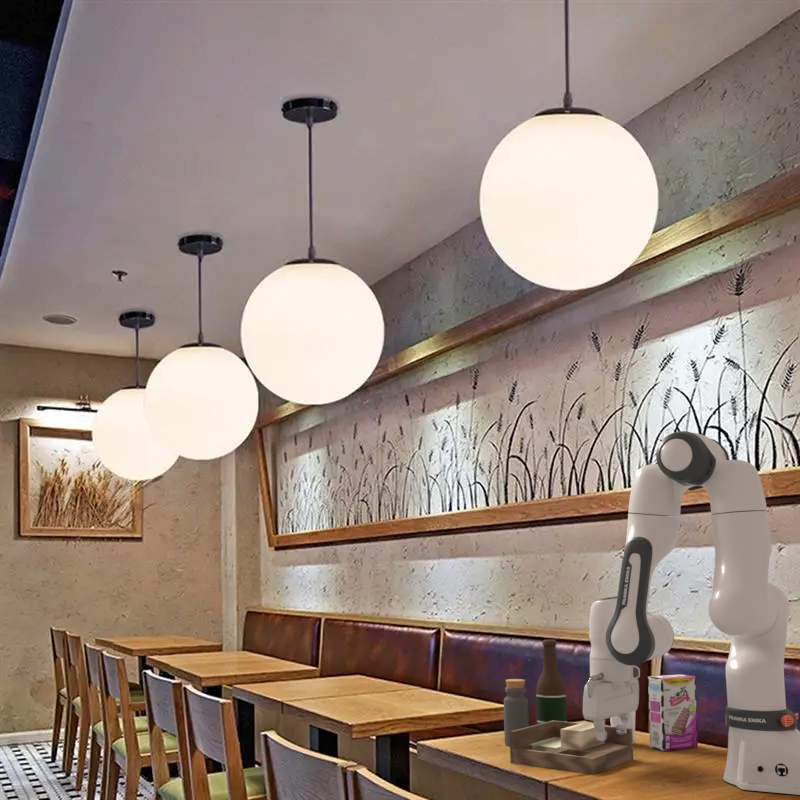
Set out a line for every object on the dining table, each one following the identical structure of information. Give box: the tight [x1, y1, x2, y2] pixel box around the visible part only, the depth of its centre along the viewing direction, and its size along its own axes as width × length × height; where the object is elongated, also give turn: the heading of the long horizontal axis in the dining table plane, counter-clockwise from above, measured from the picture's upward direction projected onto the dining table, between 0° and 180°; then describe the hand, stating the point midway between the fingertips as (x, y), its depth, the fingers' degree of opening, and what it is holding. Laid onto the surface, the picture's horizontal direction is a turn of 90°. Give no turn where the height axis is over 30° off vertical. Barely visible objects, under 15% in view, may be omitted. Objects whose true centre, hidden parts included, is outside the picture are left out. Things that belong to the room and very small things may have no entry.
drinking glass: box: [609, 711, 636, 745], centre depth 237 cm, size 7×7×15 cm
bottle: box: [503, 678, 530, 747], centre depth 237 cm, size 6×6×15 cm
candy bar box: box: [647, 674, 699, 752], centre depth 231 cm, size 11×5×16 cm, turn 120°
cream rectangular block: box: [560, 722, 605, 751], centre depth 218 cm, size 5×11×4 cm, turn 142°
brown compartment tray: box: [509, 720, 634, 775], centre depth 217 cm, size 20×19×6 cm
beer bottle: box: [535, 639, 568, 724], centre depth 243 cm, size 8×8×24 cm
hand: (611, 737), depth 214 cm, fingers open, 8 cm apart
